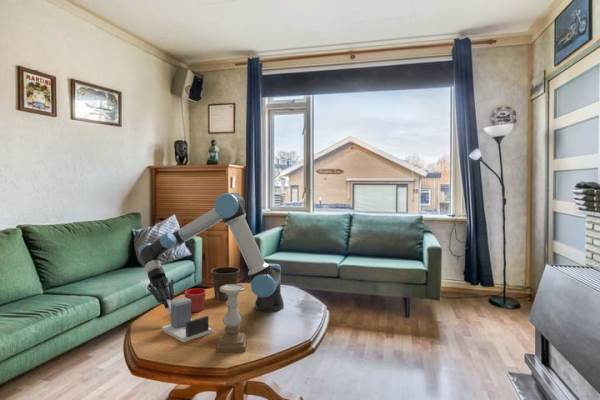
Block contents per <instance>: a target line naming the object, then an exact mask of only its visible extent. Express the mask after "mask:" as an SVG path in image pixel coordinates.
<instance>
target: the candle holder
mask: <svg viewBox="0 0 600 400" xmlns="http://www.w3.org/2000/svg"><path fill="white" fill-rule="evenodd" d="M219 290H220V291H221V292H223V293H226V295H227V296H228V300H226V302H225V305H226V307H227V311H226V313H225V314H224V316H223V320H222V323H223V325H224V326H225V327H224V332H225V333H222V334H221V336H220V337H219V340H218V343H217V346H216V353H217V354H218V353H220V354H221V353H226V354H227V353H245V352H246V349H247V343H248V339H247V337H248V336H247V335H245V333H244V332H240V331H241V327H240V324H241V323H242V316H241V315H240V312H238V309H237V308H238V306H239V304H240V302H239V300H238V298H237V297H238V296H239V294H240V293H241V292H244V291H245V290H246V286H245V285H243V284H240V283H237V284H227V285H223V286H221V287H220V288H219Z"/></svg>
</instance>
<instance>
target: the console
mask: <svg viewBox="0 0 600 400" xmlns="http://www.w3.org/2000/svg"><path fill="white" fill-rule="evenodd" d="M161 331H163V332H164V333H166V334H167V335H169V336H171V337H173V338H174V339H176V340H178V341H179V342H181V343H186V342H189V341H192V340H195V339H197V338H201V337H203V336H206V335H209V334H212V333H213V328H211V327H209V316H208V315H204V316H202V317H198V318H194V319H192V318H191V321H188V322H186V326H183V327H179V328H175V327H173V326H171V323H170V324H167V325H164V326H161Z"/></svg>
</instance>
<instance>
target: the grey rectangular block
mask: <svg viewBox="0 0 600 400" xmlns="http://www.w3.org/2000/svg"><path fill="white" fill-rule="evenodd" d="M191 319H192V312H191V299H188V298H186V297H185V296H184V297H180V298H177V299H173V300H172V301H171V315H170V324H171V326H173V327H175V328H179V327H183V326H186V322H188V321H191Z"/></svg>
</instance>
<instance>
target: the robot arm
mask: <svg viewBox="0 0 600 400" xmlns="http://www.w3.org/2000/svg"><path fill="white" fill-rule="evenodd" d="M245 208H246V202H245V197H243V195H241V194H240V193H237V192H225V193H222V194H220V195H219V196H218V197H217V198H216V199H215V202H214V207H213V208H211V210H209V211H207V212H206V213H204V214H202V215H200V216H198V217H197V218H195V219H194V220H192V221H191V222H189V223H187V224H186V225H184V226H183V227H181V228H179V229H177V230H176V231H173V232H165V233H163V234H161V235H160V237H159V238H157V239H156V240H155V241H154V242H152V243H150V242H147V243H144V244H141V245H140V246H139V247H138V254H139V257H140V260H141V261H142V264H143V267H144V270H145V272H146V275H147V278H148V280H149V281H150V282H149V283H148V285H147V287H146V289H147V290H148V291H150V293H151V294H152V295H153V297H154V298H155V300H156V301H157V303H158V304H160V303H161V305H163V306H164V309H167V312H168V315H169V316H171V301H172V300H174V298H175V296H176V295H175V290H174V279H169V278H168V277H167V275H166V273H165V271H164V268H163V265H162V263H161V261H160V257H161V256H162V255H164V254H165V253H166V252H167V251H169V250H172V249H175V248H178V247H180V246H182V245H183V244H184V243H186V242H188V241H189V240H191V239H192V238H194V237H196V236H198V235H199V234H201V233H203V232H204V231H206V230H208V229H209V228H211V227H213V226H214V225H216V224H218V223H220V222H221V221H222V222H223V224H224V225H226V226H229V229H230V231H231V233H232V236H233V238H234V240H235V243H236V244H237V246H238V248H239V252H240V253H241V255H242V257H243V259H244V261H245V264H246V267H247V269H248V273H247V275H248V278H249V280H250V289H251V291H252V293H253V294H254V295H255V296H256V300H255V302H254V303H255V304H254V308H255V310H257V311H260V312H278V311H281V310H283V309H284V308H285V307H284V306H285V305H284V304H285V303H284V299H283V296H282V292H281V287H282V285H281V284H282V282H281V278H282V277H281V275H282V273H281V271H282V268H281V265H280V264H279V263H268V262H266V261H265V259H264V257H263V254H262V252H261V250H260V248H259V246H258V244H257V242H256V239H255V237H254V234H253V232H252V230H251V228H250V227H249V224H248V222H247V219H246V216H247V212H246V210H245ZM280 309H281V310H280ZM277 310H278V311H277Z"/></svg>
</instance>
